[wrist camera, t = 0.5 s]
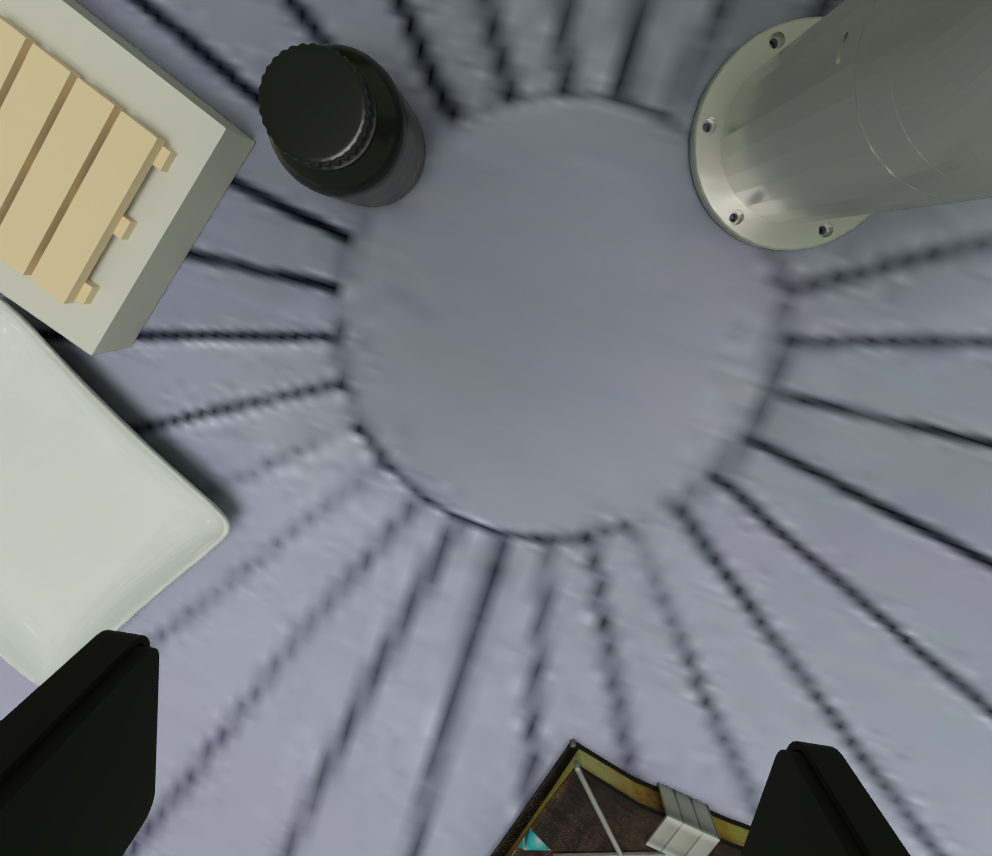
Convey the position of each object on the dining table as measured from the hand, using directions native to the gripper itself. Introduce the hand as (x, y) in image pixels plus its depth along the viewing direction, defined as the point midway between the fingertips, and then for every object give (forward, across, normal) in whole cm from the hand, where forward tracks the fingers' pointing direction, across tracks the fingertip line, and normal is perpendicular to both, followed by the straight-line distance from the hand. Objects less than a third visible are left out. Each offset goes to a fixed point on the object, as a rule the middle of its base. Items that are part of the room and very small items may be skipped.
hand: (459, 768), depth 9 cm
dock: (+33, +27, -8) cm, 44 cm away
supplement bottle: (+33, +10, -12) cm, 37 cm away
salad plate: (+34, +30, +14) cm, 48 cm away
